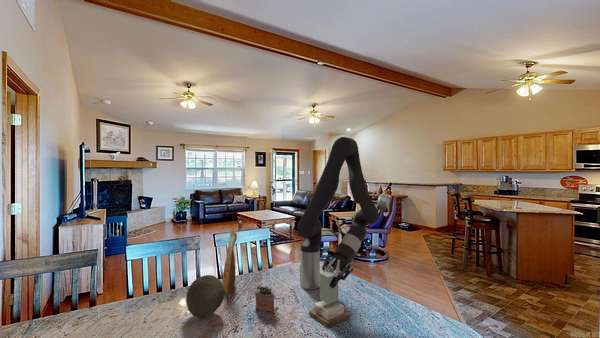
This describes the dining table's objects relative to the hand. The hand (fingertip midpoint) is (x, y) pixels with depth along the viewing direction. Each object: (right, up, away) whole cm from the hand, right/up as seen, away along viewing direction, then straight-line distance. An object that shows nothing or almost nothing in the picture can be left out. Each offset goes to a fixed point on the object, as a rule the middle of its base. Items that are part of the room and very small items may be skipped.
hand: (326, 284), depth 109 cm
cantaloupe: (-47, -13, +2) cm, 49 cm away
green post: (+1, -6, +1) cm, 6 cm away
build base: (+1, -13, +1) cm, 13 cm away
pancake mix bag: (-44, -13, +29) cm, 54 cm away
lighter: (-24, -13, +5) cm, 28 cm away
